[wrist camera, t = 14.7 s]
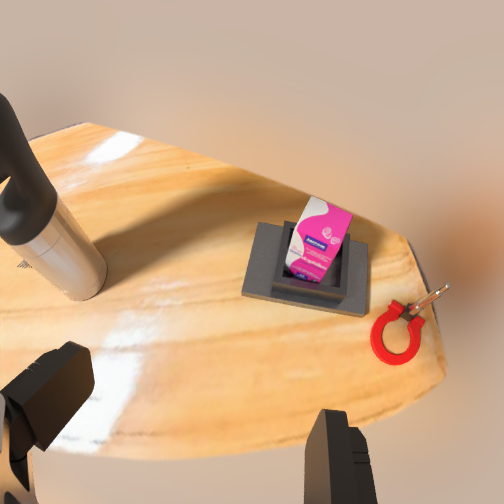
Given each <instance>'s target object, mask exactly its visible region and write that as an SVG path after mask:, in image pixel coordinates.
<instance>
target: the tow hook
mask: <svg viewBox="0 0 504 504" xmlns="http://www.w3.org/2000/svg"><path fill="white" fill-rule="evenodd" d="M449 288H450V283H449V282H447V283H445V284H444V285H443V286H442V287H437V288H436V289H435V290H434V291H432V292H431V293H429V294H428V295H427V296H425V297H424V298H423V299H421V300H418V301H417V302H415V303H414V304H413V305H411V304H409V303H408V304H407V305H405V306H404V307H403V306H402V305H400V304H399V303H397V302H395V301H394V300H392V301H391V302H390V303H389V305H388V308H389V309H388V311H387V312H386V313H384V314H383V315H381V316H380V317H379V318H378V319H377V320H376V321H375V323H374V325H373V327H372V329H371V335H370V339H371V346H372V349H373V351H374V353H375V354H376V356H377V357H378V358H379V359H380V360H381V361H382V362H384V363H386V364H389V365H401V364H404V363H406V362H408V361H410V360H411V359H412V358H413V357H414V356H415V354H416V353H417V351H418V348H419V346H420V328H421V327H422V326H423V324H424V322H425V320H424V319H422V318H421V317H419V316H417V313H418V312H419V311H421V310H422V309H424V307H425V306H427V305H428V304H430V303H431V302H433V301H434V300H436V299H437V298H439V297H440V296H441V295H442V294H443V292H444V291H446V290H447V289H449ZM399 316H401V317H402V318H404V319H406V320H407V321H410V322H409V325H408V330H409V333H410V338H411V340H410V345H409V347H408V349H407V350H406V351H405V352H404V353H403V354H401V355H393V354H391V353H389V352H388V351H387V350H386V349H385V348H384V346H383V344H382V341H381V333H382V330H383V327H384V326H385V325H386V324H387V323H388V322H390V321H395V320H397V319H398V317H399Z"/></svg>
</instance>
